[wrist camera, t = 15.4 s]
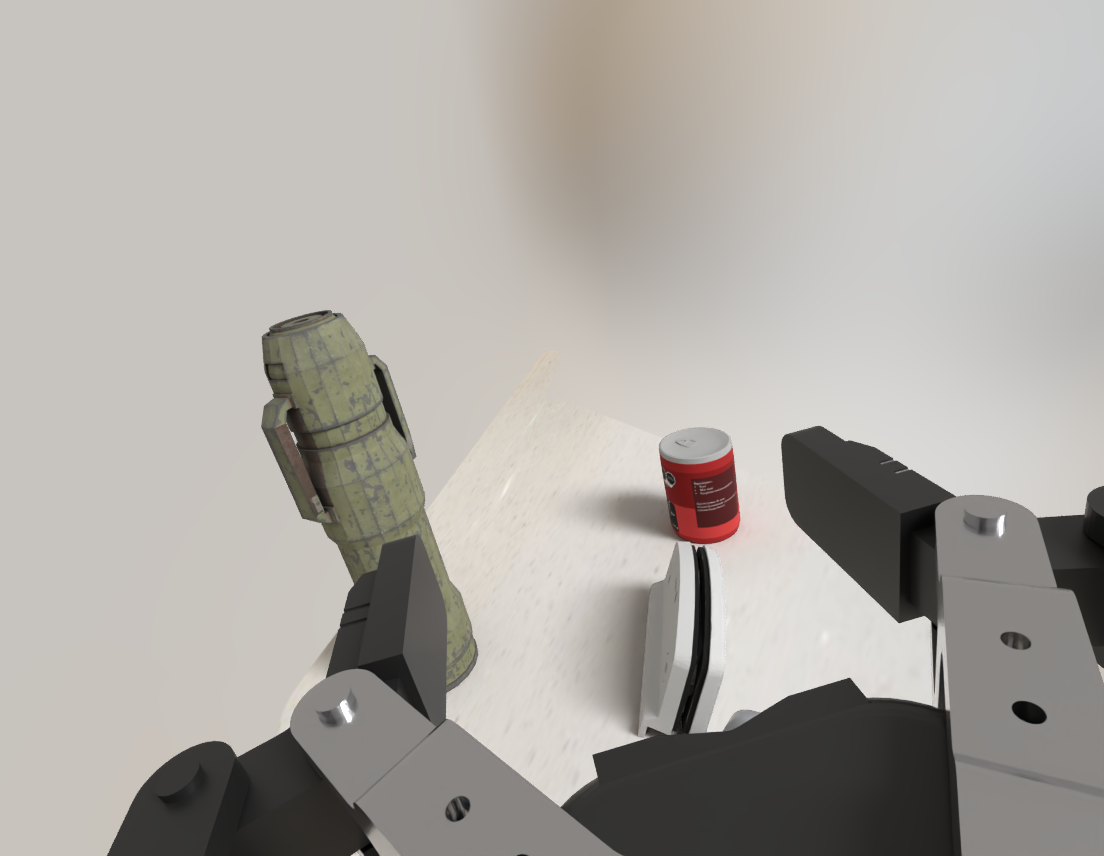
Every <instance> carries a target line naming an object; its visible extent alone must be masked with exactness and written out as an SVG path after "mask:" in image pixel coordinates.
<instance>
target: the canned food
mask: <svg viewBox="0 0 1104 856" xmlns="http://www.w3.org/2000/svg"><path fill="white" fill-rule="evenodd" d="M659 453H660V460H661V466H662V472H663V478H664V484H665V490H666V496H667V502H668V507H669V513H670V519H671V524H672V526H673V528H674V530H675V532H676V533H677V534H678V535H679V536H680V537H681V538H683V539H685V540H687V541H691V542H695V543H705V544H706V543H715V542H719V541H723V540H725V539H727V538H729V537H731V536H732V535H733V534H734V533H735V532H736V531H737V529H738V527H739V523H740V512H739V502H738V493H737V483H736V474H735V464H734V455H733V448H732V442H731V439H730V436H729V435H728V434H727V433H725V432H723V431H721V430H717V429H713V428H689V429H683V430H680V431H676V432H674V433H671V434H669V435H668V436H666V437H665V438H663V439H662V441H661V442H660V444H659Z"/></svg>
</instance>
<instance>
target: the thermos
mask: <svg viewBox="0 0 1104 856" xmlns="http://www.w3.org/2000/svg"><path fill="white" fill-rule="evenodd" d="M269 330H270V332H268V333H266V334H264V335H263V336H262V345H263V360H264V370H265V374H266V376H267V378H268V381H269V383H270V385H271V388H272V390H273V392H274V394H273V397H274V399H272V400H271V401H270V402H269V403H267V404H266V405H265V406H264V411H263V418H262V426H261V427H262V429H263V432H264V434H265V436H266V438H267V441H268V443H269V445H270V447H271V449H272V451H273V454H274V456H275V458H276V460H277V462H278V465H279V467H280V469H281V471H282V474H283V476H284V478H285V480H286V483H287V485H288V487H289V489H290V491H291V494H292V496H293V498H294V500H295V502H296V505H297V507H298V510H299V512H300V514H301V516H302V518H303V519H307V520H311V521H315V522H319V523H322V526H323V528H324V530H325V532H326V534H327V536H328V537H329V538H330V539H331V540H332V541H334V542H335V543H336V544H337V545H338V547H339V550H340V552H341V555H342V557H343V559H344V561H345V564H346V566H347V568H348V571H349V573H350V575H351V578H352V580H353V582H354V584H355V583H356V582H357V580H358V579H359V578H360V577H361V575H362V574H363V573H367V572H370V571H374V570H377V568H378V563H379V558H380V553H381V548H382V545H383V544H384V543H387V542H391V541H394V540H398V539H402V538H405V537H409V536H413V535H416V534H418V535H420V537H421V539H422V541H423V543H424V546H425V548H426V551H427V554H428V557H429V559H430V562H431V565H432V568H433V570H434V573H435V576H436V579H437V581H438V584H439V587H440V590H441V592H442V595H443V599H444V603H445V608H446V614H447V673H446V693H447V692H448V691H450V690H452V689H453V688H455V687H456V686H458V685H459V684H460V683H461V682H462V681H463V680H464V679H465V678H466V677H467V676H468V675H469V674H470V672H471V671H472V669H473V667H474V666H475V664H476V660H477V656H478V650H477V644H476V642H475V639H474V638H473V635H472V627H471V622H470V619H469V617H468V614H467V611H466V608H465V605H464V602H463V599H462V596H461V594H460V592H459V591H458V589H457V588H456V587H455V586H454V585H453V584H452V583H451V581H450V580H449V577H448V574H447V572H446V569H445V566H444V563H443V560H442V557H441V555H440V552H439V549H438V546H437V543H436V540H435V538H434V535H433V532H432V529H431V526H430V523H429V521H428V518H427V515H426V512H425V509H424V504H425V494H424V491H423V487H422V484H421V481H420V479H419V476H418V473H417V470H416V467H415V464H414V461H413V459H414V458H415V457H416V453H415V450H414V445H413V442H412V438H411V434H410V431H409V428H408V426H407V423H406V420H405V417H404V414H403V411H402V408H401V405H400V403H399V399H398V396H397V394H396V391H395V388H394V385H393V382H392V379H391V376H390V373H389V371H388V368H387V365H386V364H385V363H383V362H382V361H381V360H380V359H379V358H378V357H377V356H376V355H370V356H368V354H367V351H366V348H365V345H364V342H363V341H362V340H361V338H360V337H359V335H358V334H357V333H356V332H355V330H354V329H353V327H352V326H351V325H350V323H349V322H348V321H347V320H346V318H345V317H344V316H343V314H341V313H332V311H330V310H325V311H319V312H314V313H309V314H305V315H302V316H298V317H295V318H291V319H289V320H286V321H283V322H280V323H278V324H275V325H273V326H271V327H270V328H269ZM286 423H287V424H286ZM287 425H288V427H289V429H290V431H291V432H294V434H295V437H296V439H297V441H298V442H297V444H296V445H295V443H294V441H293V438H292V436H291V434H290V431H289V429H288V427H287ZM296 446H297V447H296ZM297 448H298V450H297ZM298 451H299V452H298ZM299 453H300V454H299ZM300 455H301V457H300Z"/></svg>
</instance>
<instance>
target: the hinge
mask: <svg viewBox="0 0 1104 856" xmlns="http://www.w3.org/2000/svg"><path fill="white" fill-rule="evenodd" d="M725 654H726V603H725V587H724V577H723V571H722V566H721V561H720V558H719V555H718V552H717V550H715V549H713V548H710V547H708V546H706V545H703V547H698V549H697V552H696V549H695V546H693V545H691V543H690V542H684V541H677V542H676V545H675V548H674V551H673V555H672V558H671V561H670V565H669V568H668V571H667V574H666V578H665V579H664V580H663V581H660V582H657V583H655V584H653V585H652V587H651V591H650V595H649V600H648V613H647V625H646V638H645V650H644V663H643V675H642V688H641V700H640V713H639V725H638V737H642V738H644V736H645V733H646V730H647V727H650V728H653V729H655V730H658V731H660V732H662V733H665V734H667V735H671V732H672V731H676V732H677V729H678V726H679V722H680V719H681V715H682V713H683V733H684V734H691V733H706V731H707V727H708V724H709V721H710V718H711V714H712V711H713V708H714V705H715V701H716V698H717V695H718V692H719V689H720V685H721V682H722V679H723V675H724V670H725Z"/></svg>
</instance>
